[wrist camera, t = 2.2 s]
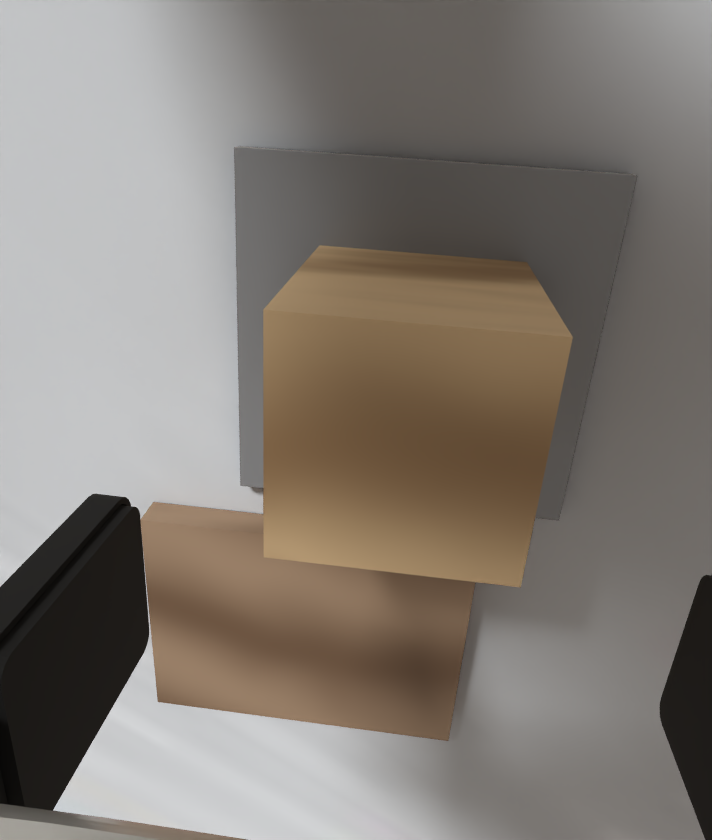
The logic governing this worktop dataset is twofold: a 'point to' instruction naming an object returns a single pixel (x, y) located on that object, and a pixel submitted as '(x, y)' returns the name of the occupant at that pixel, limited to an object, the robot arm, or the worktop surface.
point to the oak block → (409, 413)
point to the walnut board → (297, 629)
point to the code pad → (429, 252)
